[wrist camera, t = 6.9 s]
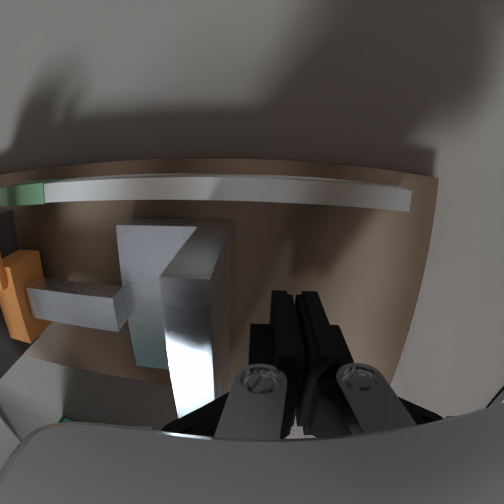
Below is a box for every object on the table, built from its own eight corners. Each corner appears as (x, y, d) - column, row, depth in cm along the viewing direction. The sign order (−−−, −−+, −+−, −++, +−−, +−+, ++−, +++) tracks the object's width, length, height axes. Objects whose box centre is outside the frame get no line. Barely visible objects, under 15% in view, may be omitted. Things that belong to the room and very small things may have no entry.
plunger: (232, 220, 13) (209, 279, 7) (231, 359, 15) (218, 456, 9) (43, 219, 13) (-43, 258, 7) (67, 338, 15) (12, 405, 9)
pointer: (31, 187, 12) (-7, 198, 9) (54, 320, 14) (26, 347, 11) (11, 189, 12) (-26, 200, 9) (34, 316, 14) (6, 341, 11)
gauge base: (423, 174, 13) (528, 202, 6) (382, 371, 17) (423, 463, 10) (-8, 175, 14) (-96, 200, 7) (25, 340, 18) (-31, 401, 10)
